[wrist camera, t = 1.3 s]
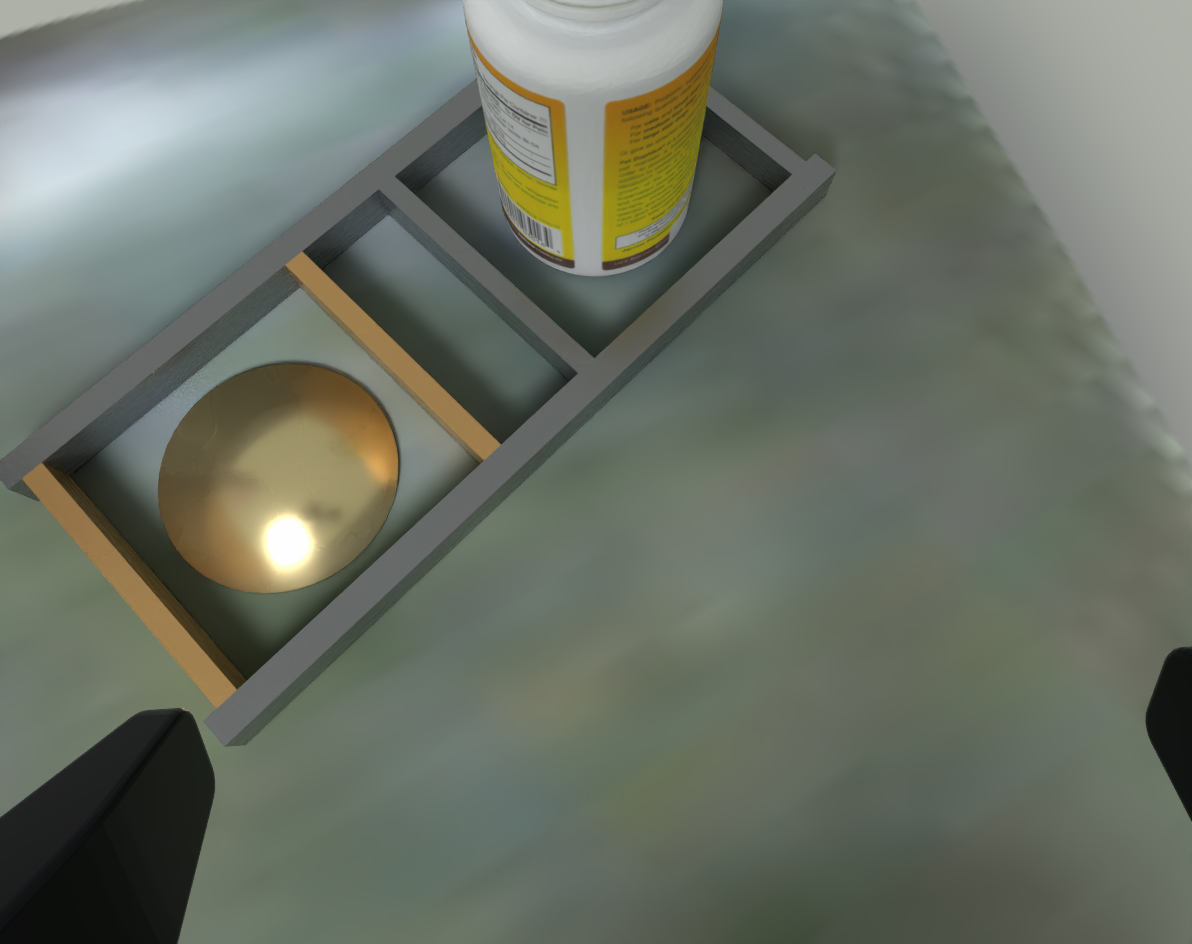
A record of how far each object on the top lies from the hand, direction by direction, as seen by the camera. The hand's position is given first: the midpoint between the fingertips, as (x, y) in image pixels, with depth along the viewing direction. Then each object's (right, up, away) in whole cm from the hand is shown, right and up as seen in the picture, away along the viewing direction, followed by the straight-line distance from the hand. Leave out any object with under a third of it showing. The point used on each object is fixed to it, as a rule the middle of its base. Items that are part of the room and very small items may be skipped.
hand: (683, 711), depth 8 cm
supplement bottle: (-1, +10, +17) cm, 20 cm away
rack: (-5, +6, +16) cm, 18 cm away
